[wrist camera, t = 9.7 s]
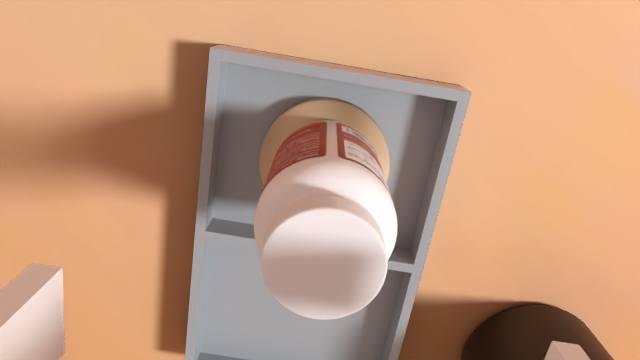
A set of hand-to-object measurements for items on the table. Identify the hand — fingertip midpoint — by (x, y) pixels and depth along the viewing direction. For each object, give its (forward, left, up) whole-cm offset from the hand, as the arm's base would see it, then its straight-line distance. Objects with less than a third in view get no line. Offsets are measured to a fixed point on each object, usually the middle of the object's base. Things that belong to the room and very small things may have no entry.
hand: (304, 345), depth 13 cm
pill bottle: (0, 0, -16) cm, 16 cm away
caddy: (0, -5, -17) cm, 18 cm away
